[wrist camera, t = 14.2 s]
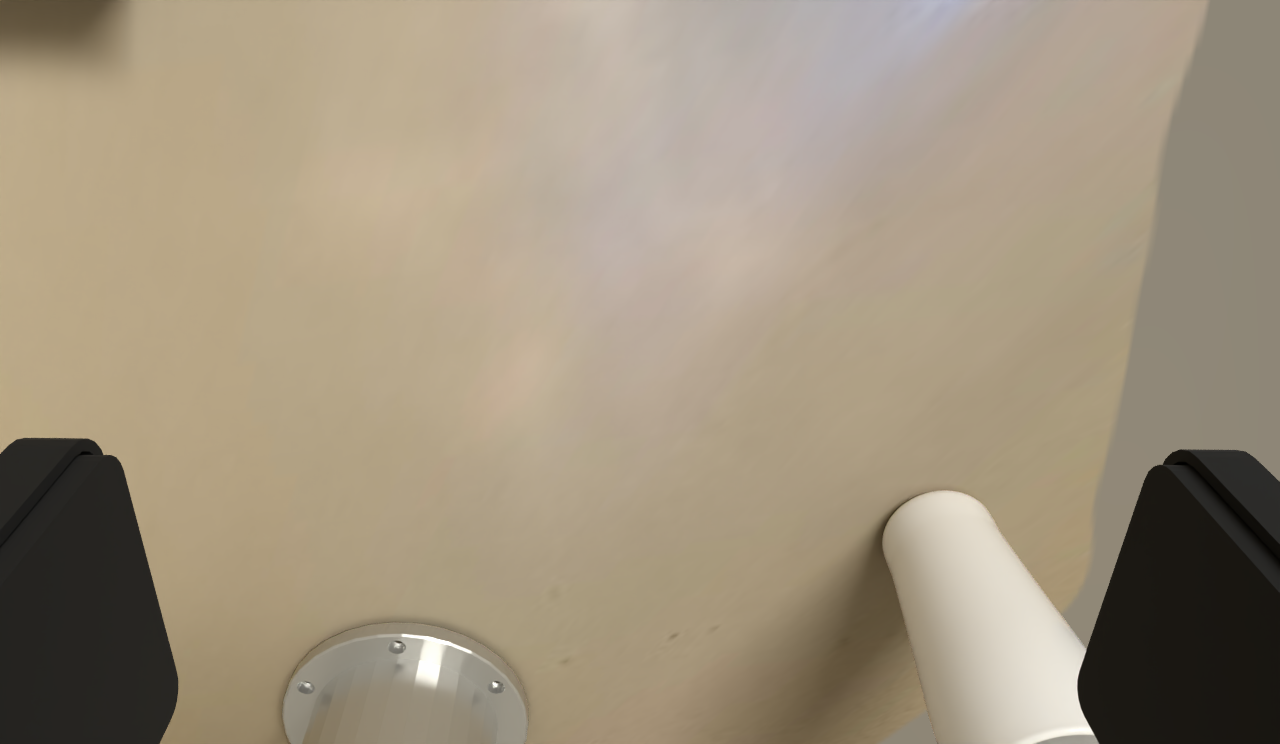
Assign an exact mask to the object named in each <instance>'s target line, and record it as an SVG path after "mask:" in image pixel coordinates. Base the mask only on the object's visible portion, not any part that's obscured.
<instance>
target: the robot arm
mask: <svg viewBox="0 0 1280 744" xmlns="http://www.w3.org/2000/svg"><path fill="white" fill-rule="evenodd" d="M1077 692H1078V699H1079V703H1080V707H1081V710H1082V712H1083V715H1084V717H1085V719H1086V720H1087V722H1088V724H1089V726H1090V728H1091V730H1092V732H1093V733H1094V735H1095V737H1096V739H1097V741H1098V743H1099V744H1280V482H1279V481H1278V480H1277V479H1276V478H1275V477H1274V476H1273V475H1272V474H1271V473H1270V472H1269V471H1268V470H1267V469H1266V468H1265V467H1264V466H1263V465H1262V464H1261V463H1259V462H1258V461H1257V460H1256V459H1255V458H1254V457H1253V456H1251V455H1250V454H1248V453H1247V452H1244V451H1238V450H1178V451H1175V452H1172V453H1171V454H1170V455H1169V456H1168V457H1167V458H1166V459H1165V461H1164V463H1163V465H1157V466H1155V467H1153V468H1152V469H1151V470H1150V471H1149V472H1148V474H1147V476H1146V478H1145V480H1144V483H1143V486H1142V489H1141V492H1140V495H1139V498H1138V501H1137V504H1136V506H1135V509H1134V512H1133V515H1132V518H1131V521H1130V524H1129V527H1128V530H1127V533H1126V536H1125V539H1124V542H1123V545H1122V548H1121V551H1120V553H1119V557H1118V559H1117V562H1116V565H1115V568H1114V571H1113V574H1112V577H1111V580H1110V583H1109V586H1108V589H1107V592H1106V595H1105V597H1104V600H1103V603H1102V606H1101V609H1100V612H1099V615H1098V618H1097V621H1096V624H1095V627H1094V630H1093V633H1092V636H1091V639H1090V642H1089V644H1088V647H1087V650H1086V653H1085V656H1084V659H1083V662H1082V665H1081V668H1080V671H1079V675H1078V680H1077ZM177 696H178V676H177V671H176V667H175V663H174V660H173V656H172V652H171V648H170V644H169V641H168V637H167V633H166V629H165V625H164V622H163V618H162V614H161V610H160V607H159V603H158V599H157V595H156V591H155V588H154V584H153V580H152V576H151V572H150V569H149V565H148V561H147V557H146V553H145V550H144V546H143V542H142V538H141V535H140V531H139V527H138V523H137V519H136V516H135V512H134V508H133V504H132V500H131V497H130V493H129V489H128V485H127V482H126V478H125V474H124V470H123V468H122V465H121V463H120V462H119V460H118V459H117V458H116V457H114V456H112V455H103V453H102V450H101V448H100V447H99V446H98V445H97V444H96V442H94V441H92V440H90V439H74V438H23V439H17V440H16V441H14V442H13V443H11V444H10V445H9V446H8V447H7V448H6V449H5V450H4V451H3V452H2V453H1V454H0V744H159V743H160V741H161V739H162V737H163V735H164V733H165V731H166V729H167V727H168V725H169V722H170V720H171V718H172V716H173V713H174V710H175V706H176V702H177ZM282 719H283V724H284V729H285V733H286V735H287V738H288V740H289V742H290V744H525V742H526V738H527V730H528V721H529V714H528V702H527V698H526V695H525V692H524V688H523V686H522V685H521V683H520V681H519V680H518V678H517V676H516V674H515V673H514V672H513V670H512V669H511V668H510V667H509V666H508V665H507V664H506V663H505V662H504V661H503V660H502V659H501V658H500V657H499V656H498V655H496V654H495V653H494V652H492V651H491V650H490V649H488V648H487V647H486V646H484V645H482V644H480V643H479V642H477V641H475V640H473V639H471V638H469V637H467V636H465V635H462V634H459V633H456V632H453V631H450V630H447V629H444V628H441V627H436V626H430V625H425V624H419V623H400V622H390V623H381V624H372V625H366V626H362V627H359V628H355V629H351V630H347V631H345V632H343V633H340V634H338V635H336V636H334V637H332V638H329V639H327V640H326V641H324V642H323V643H321V644H320V645H319V646H317V647H316V648H314V649H313V650H312V651H310V652H309V653H308V655H307V656H306V657H305V658H304V659H303V660H302V661H301V662H300V663H299V665H298V666H297V668H296V670H295V672H294V674H293V675H292V677H291V679H290V682H289V685H288V688H287V691H286V694H285V697H284V700H283V710H282Z"/></svg>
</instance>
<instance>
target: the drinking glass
mask: <svg viewBox="0 0 1280 744" xmlns="http://www.w3.org/2000/svg"><path fill="white" fill-rule="evenodd" d="M882 547H883V553H884V557H885V560H886V562H887V565H888V567H889V570H890V573H891V575H892V578H893V582H894V585H895V589H896V593H897V596H898V600H899V604H900V607H901V611H902V615H903V619H904V623H905V626H906V630H907V634H908V638H909V642H910V646H911V650H912V653H913V657H914V661H915V665H916V669H917V673H918V677H919V681H920V685H921V689H922V693H923V697H924V701H925V704H926V708H927V712H928V716H929V719H930V722H931V726H932V729H933V732H934V736H935V739H936V742H937V744H1099V743H1098V741H1097V739H1096V737H1095V735H1094V733H1093V732H1092V730H1091V728H1090V726H1089V724H1088V722H1087V720H1086V719H1085V717H1084V715H1083V712H1082V710H1081V707H1080V703H1079V699H1078V692H1077V680H1078V675H1079V671H1080V668H1081V665H1082V662H1083V659H1084V656H1085V653H1086V650H1087V649H1086V648H1085V646H1084V645H1083V644H1082V642H1081V641H1080V639H1079V638H1078V637H1077V635H1076V634H1075V633H1074V631H1073V630H1072V629H1071V627H1070V626H1069V625H1068V623H1067V622H1066V621H1065V619H1064V618H1063V617H1062V615H1061V614H1060V613H1059V611H1058V610H1057V608H1056V607H1055V606H1054V604H1053V603H1052V602H1051V600H1050V599H1049V598H1048V596H1047V595H1046V594H1045V592H1044V591H1043V590H1042V588H1041V587H1040V585H1039V584H1038V583H1037V581H1036V580H1035V579H1034V577H1033V576H1032V575H1031V573H1030V572H1029V570H1028V569H1027V568H1026V566H1025V565H1024V564H1023V562H1022V561H1021V560H1020V558H1019V557H1018V555H1017V554H1016V553H1015V551H1014V550H1013V548H1012V547H1011V546H1010V544H1009V543H1008V541H1007V540H1006V539H1005V537H1004V536H1003V534H1002V533H1001V531H1000V530H999V528H998V526H997V524H996V523H995V521H994V519H993V517H992V516H991V514H990V513H989V511H988V510H987V509H986V507H985V506H984V505H983V504H982V503H981V502H979V501H978V500H977V499H975V498H973V497H972V496H969V495H967V494H964V493H961V492H957V491H951V490H939V491H932V492H928V493H924V494H921V495H919V496H916V497H914V498H912V499H910V500H909V501H907V502H906V503H904V504H903V505H902V506H900V507H899V508H898V509H897V510H896V511H895V512H894V513H893V515H892V516H891V517H890V519H889V521H888V522H887V524H886V527H885V529H884V533H883V538H882Z"/></svg>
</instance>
